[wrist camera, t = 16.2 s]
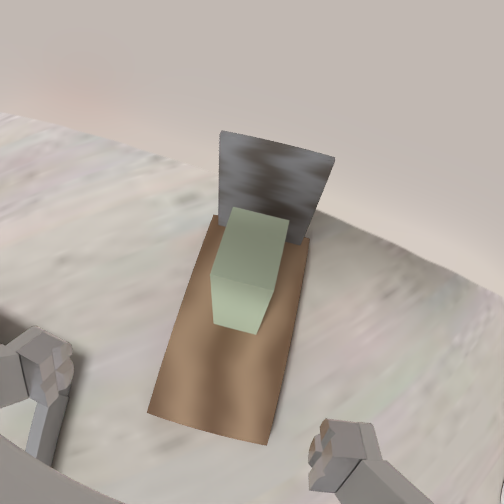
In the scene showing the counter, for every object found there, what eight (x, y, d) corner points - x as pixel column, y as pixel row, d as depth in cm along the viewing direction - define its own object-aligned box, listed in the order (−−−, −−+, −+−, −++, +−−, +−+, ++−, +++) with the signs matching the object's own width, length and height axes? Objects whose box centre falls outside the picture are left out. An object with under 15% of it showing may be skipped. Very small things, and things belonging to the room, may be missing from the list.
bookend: (306, 246, 40) (346, 155, 26) (264, 443, 29) (300, 466, 15) (213, 223, 41) (213, 123, 27) (151, 413, 29) (93, 407, 15)
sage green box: (268, 283, 35) (289, 220, 25) (256, 334, 32) (273, 290, 22) (228, 273, 35) (232, 206, 25) (213, 323, 32) (210, 274, 22)
